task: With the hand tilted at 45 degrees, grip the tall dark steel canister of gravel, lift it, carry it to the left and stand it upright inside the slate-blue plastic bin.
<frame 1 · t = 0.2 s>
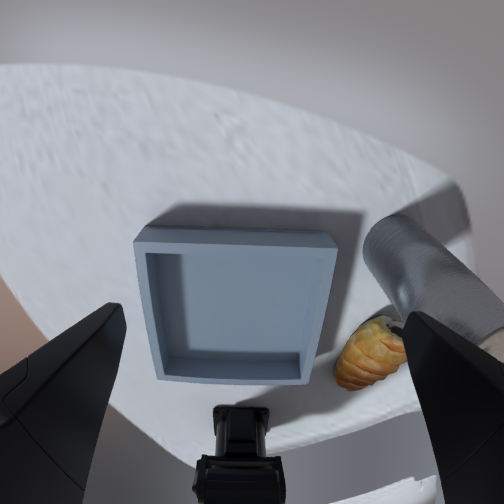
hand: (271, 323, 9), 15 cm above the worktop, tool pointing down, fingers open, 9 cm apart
bin: (234, 305, 27), on the worktop
canister: (392, 246, 24), on the worktop
pastry: (371, 343, 30), on the worktop
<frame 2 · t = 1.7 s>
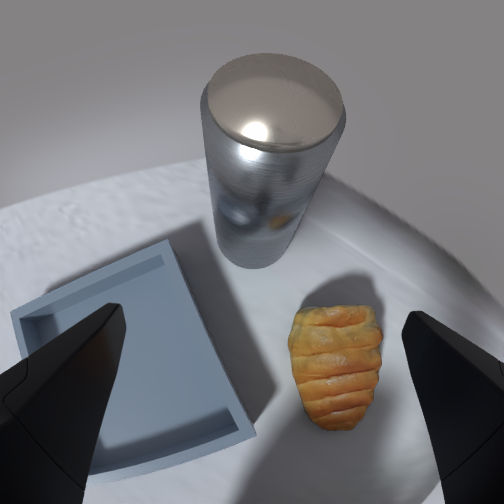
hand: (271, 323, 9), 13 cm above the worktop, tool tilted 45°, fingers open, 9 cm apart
bin: (126, 373, 20), on the worktop
canister: (252, 233, 24), on the worktop
pastry: (333, 358, 22), on the worktop
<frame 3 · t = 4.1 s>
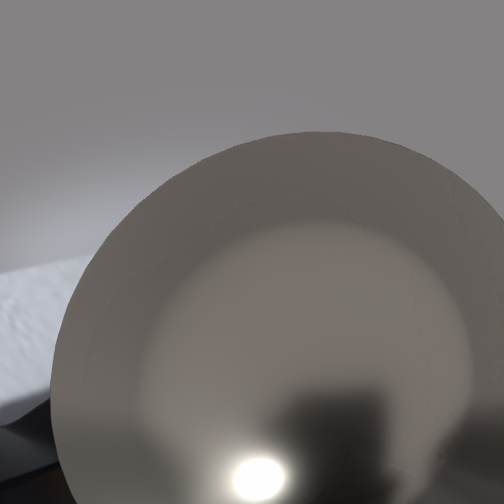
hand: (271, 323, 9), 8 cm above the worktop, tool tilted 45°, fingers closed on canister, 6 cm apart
canister: (253, 362, 16), on the worktop, touching gripper
when the fingers open (10 cm above the worktop, at t = 7.5 s): canister drops 1 cm, resting on bin.
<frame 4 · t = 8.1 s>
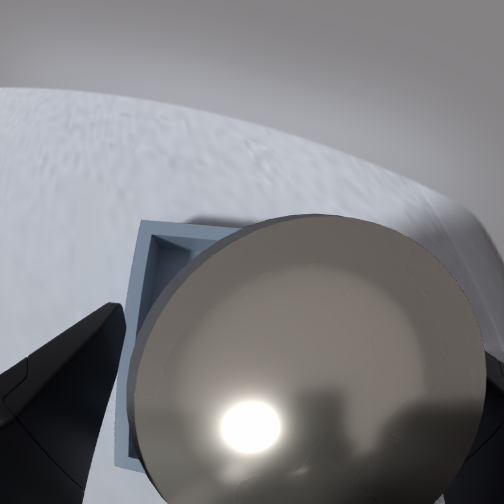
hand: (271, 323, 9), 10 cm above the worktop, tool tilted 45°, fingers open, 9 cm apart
bin: (251, 360, 18), on the worktop
canister: (252, 362, 17), point 1 cm above the worktop, touching bin
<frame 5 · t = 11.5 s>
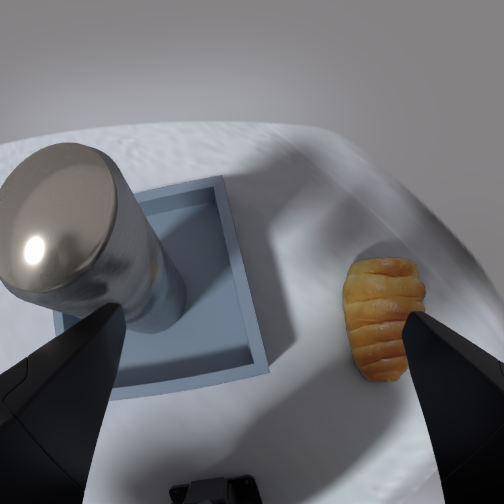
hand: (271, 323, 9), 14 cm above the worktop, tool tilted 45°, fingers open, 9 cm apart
bin: (150, 296, 22), on the worktop
canister: (149, 295, 22), point 1 cm above the worktop, touching bin
pastry: (378, 314, 23), on the worktop
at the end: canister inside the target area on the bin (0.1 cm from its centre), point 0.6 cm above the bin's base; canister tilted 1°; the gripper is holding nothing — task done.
